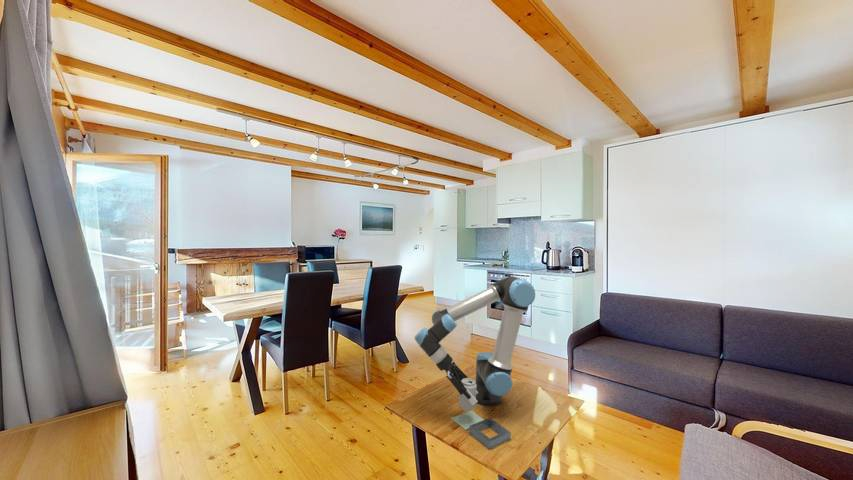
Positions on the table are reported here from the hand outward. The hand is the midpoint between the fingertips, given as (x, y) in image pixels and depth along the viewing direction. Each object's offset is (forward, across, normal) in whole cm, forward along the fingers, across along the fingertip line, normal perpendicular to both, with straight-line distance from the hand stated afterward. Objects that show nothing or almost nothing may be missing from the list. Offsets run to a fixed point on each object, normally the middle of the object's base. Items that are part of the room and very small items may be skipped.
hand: (475, 398), depth 141 cm
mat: (+6, 0, -9) cm, 11 cm away
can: (+1, 0, -6) cm, 6 cm away
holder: (+12, +9, -3) cm, 15 cm away
